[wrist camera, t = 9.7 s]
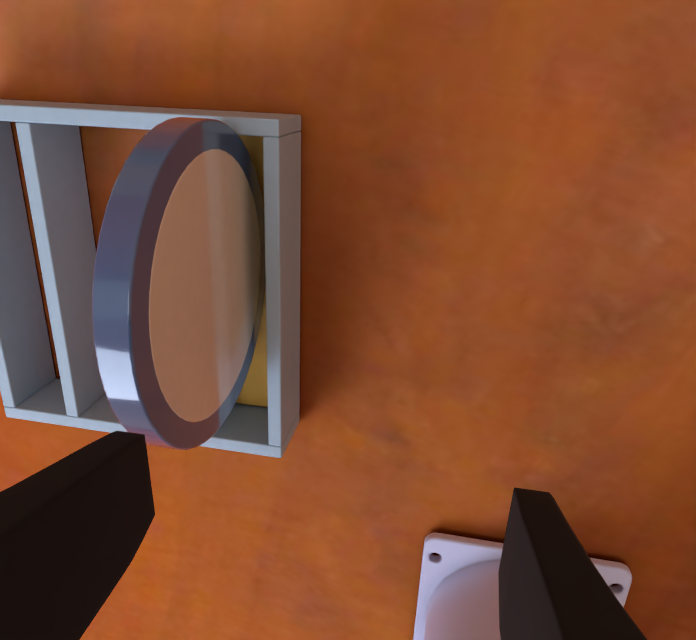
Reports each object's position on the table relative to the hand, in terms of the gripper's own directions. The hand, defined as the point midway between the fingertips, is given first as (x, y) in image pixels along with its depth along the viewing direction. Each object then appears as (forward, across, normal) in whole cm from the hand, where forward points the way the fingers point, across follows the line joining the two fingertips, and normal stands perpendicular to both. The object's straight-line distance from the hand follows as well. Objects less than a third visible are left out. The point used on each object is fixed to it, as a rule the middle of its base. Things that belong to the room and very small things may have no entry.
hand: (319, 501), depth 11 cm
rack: (+10, +9, 0) cm, 14 cm away
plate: (+10, +5, 0) cm, 11 cm away
